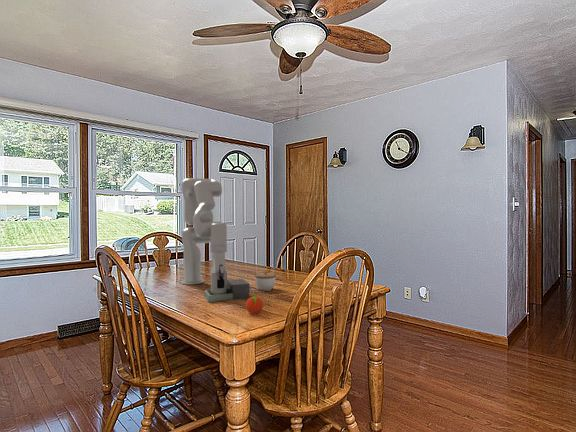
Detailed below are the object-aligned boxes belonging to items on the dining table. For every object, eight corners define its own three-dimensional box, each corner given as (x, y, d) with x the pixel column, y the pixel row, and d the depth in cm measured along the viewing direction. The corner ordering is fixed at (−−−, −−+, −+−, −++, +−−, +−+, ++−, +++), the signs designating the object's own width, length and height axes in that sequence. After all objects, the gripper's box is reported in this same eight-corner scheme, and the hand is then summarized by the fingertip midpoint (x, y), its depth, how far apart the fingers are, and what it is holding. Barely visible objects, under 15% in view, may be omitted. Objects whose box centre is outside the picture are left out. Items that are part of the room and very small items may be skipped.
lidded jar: (277, 287, 193) (277, 269, 193) (274, 291, 182) (274, 273, 182) (257, 286, 194) (257, 269, 194) (253, 291, 183) (253, 273, 183)
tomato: (264, 316, 141) (264, 298, 141) (247, 317, 140) (246, 299, 140) (261, 310, 149) (261, 293, 149) (245, 311, 148) (244, 294, 147)
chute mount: (204, 296, 173) (204, 282, 173) (242, 292, 181) (242, 278, 180) (208, 302, 162) (208, 287, 162) (249, 298, 169) (249, 283, 169)
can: (223, 295, 166) (223, 269, 166) (208, 294, 167) (208, 269, 167) (229, 291, 173) (229, 267, 173) (214, 291, 175) (214, 266, 174)
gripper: (207, 247, 176) (207, 283, 177) (214, 251, 160) (214, 291, 161) (222, 246, 179) (223, 282, 180) (230, 250, 163) (231, 289, 164)
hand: (219, 286), depth 170 cm, fingers closed on can, 7 cm apart
